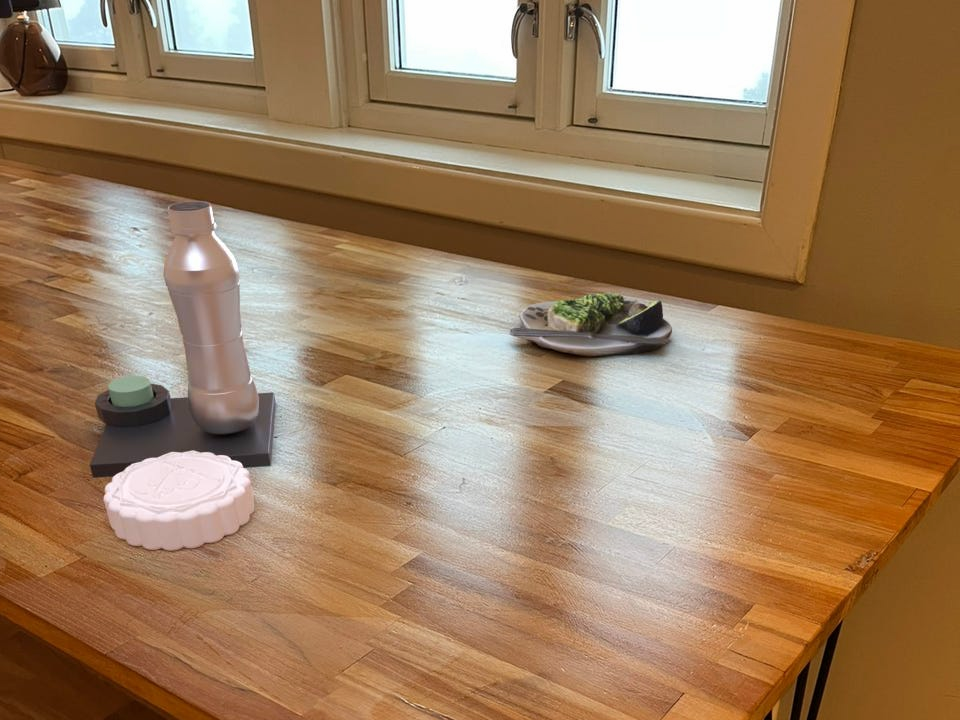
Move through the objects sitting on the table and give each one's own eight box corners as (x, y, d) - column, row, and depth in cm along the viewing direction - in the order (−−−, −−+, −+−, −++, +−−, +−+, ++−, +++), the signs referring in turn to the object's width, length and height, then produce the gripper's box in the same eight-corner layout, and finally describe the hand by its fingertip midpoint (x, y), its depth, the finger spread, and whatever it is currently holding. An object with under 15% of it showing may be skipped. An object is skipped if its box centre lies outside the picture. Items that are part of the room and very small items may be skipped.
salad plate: (530, 373, 107) (531, 332, 104) (487, 319, 120) (487, 281, 118) (691, 355, 111) (696, 315, 108) (631, 305, 124) (635, 268, 121)
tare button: (108, 410, 93) (104, 393, 92) (115, 393, 96) (111, 376, 95) (151, 407, 94) (147, 390, 93) (156, 391, 97) (152, 374, 96)
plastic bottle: (179, 435, 92) (131, 211, 79) (223, 408, 96) (184, 193, 84) (234, 448, 89) (193, 220, 77) (276, 419, 94) (244, 201, 82)
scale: (82, 479, 88) (73, 449, 86) (109, 412, 99) (102, 385, 97) (270, 466, 89) (266, 437, 88) (276, 402, 101) (272, 375, 99)
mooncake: (80, 527, 81) (69, 489, 79) (184, 470, 89) (177, 434, 87) (183, 568, 76) (174, 528, 74) (284, 503, 84) (278, 466, 82)
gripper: (-78, -250, 78) (-11, 4, 88) (-162, -281, 64) (-71, 23, 74) (19, -249, 78) (74, 3, 89) (-44, -280, 65) (30, 22, 75)
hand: (8, 12), depth 82 cm, fingers open, 9 cm apart
